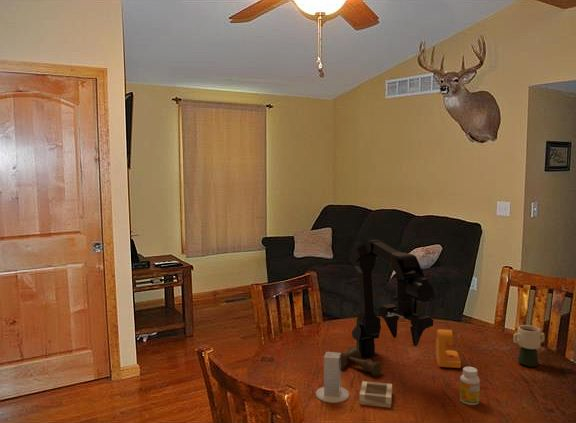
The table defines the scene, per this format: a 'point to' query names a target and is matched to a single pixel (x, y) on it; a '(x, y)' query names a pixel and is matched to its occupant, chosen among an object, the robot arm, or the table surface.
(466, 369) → the supplement bottle
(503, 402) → the table surface
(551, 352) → the table surface
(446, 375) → the table surface
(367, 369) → the kendama
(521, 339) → the character mug
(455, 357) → the bracket
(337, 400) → the coaster
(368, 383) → the collar
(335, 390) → the steel peg
